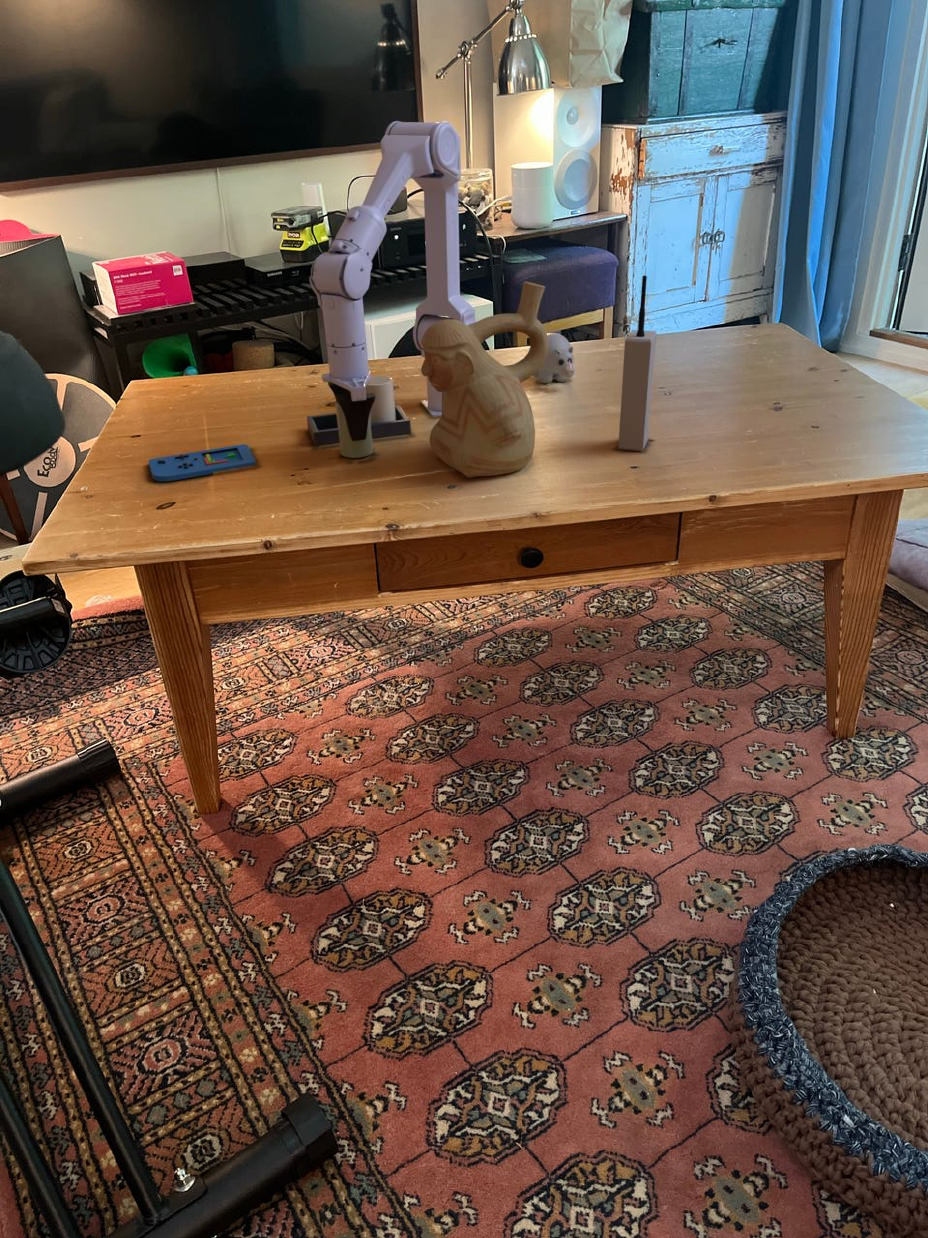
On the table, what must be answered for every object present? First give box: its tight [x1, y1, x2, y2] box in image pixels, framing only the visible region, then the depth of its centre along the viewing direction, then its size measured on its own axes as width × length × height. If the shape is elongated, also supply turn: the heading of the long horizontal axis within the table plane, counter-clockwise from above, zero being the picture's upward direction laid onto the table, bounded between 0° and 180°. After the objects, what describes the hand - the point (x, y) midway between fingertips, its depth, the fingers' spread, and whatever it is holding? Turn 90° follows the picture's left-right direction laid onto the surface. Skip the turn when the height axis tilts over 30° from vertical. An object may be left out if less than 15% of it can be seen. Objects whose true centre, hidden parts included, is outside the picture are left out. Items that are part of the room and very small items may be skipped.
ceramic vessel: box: [420, 281, 549, 479], centre depth 128 cm, size 17×20×25 cm
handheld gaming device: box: [148, 443, 257, 482], centre depth 137 cm, size 8×1×15 cm
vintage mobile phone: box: [618, 274, 657, 452], centre depth 132 cm, size 4×5×25 cm
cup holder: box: [306, 404, 412, 447], centre depth 146 cm, size 15×8×3 cm, turn 106°
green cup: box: [334, 399, 374, 459], centre depth 136 cm, size 5×5×8 cm
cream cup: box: [365, 375, 396, 424], centre depth 145 cm, size 5×5×8 cm
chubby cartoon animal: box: [532, 332, 576, 384], centre depth 163 cm, size 7×12×8 cm, turn 16°
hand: (355, 433), depth 136 cm, fingers closed on green cup, 5 cm apart
